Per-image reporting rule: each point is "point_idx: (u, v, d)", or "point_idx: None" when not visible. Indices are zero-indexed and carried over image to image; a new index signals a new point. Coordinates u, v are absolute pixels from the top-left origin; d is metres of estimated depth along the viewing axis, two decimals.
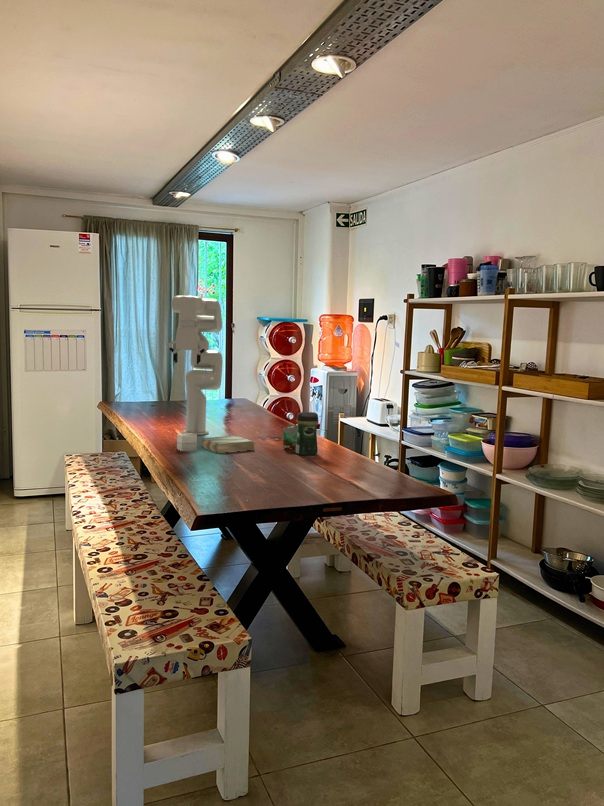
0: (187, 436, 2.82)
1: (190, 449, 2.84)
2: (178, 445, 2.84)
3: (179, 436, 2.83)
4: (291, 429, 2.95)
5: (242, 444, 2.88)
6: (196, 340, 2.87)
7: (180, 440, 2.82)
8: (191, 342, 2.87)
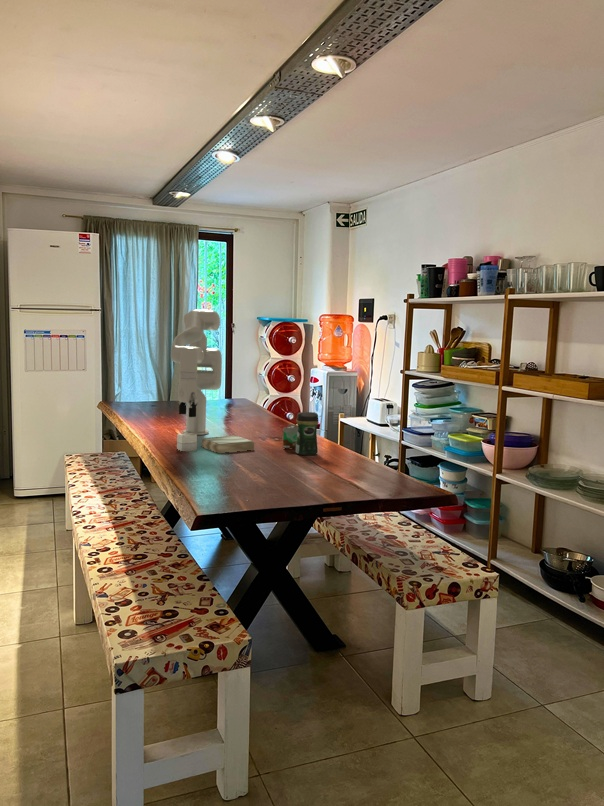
0: (187, 436, 2.82)
1: (190, 449, 2.84)
2: (178, 445, 2.84)
3: (179, 436, 2.83)
4: (291, 429, 2.95)
5: (242, 444, 2.88)
6: None
7: (180, 440, 2.82)
8: None
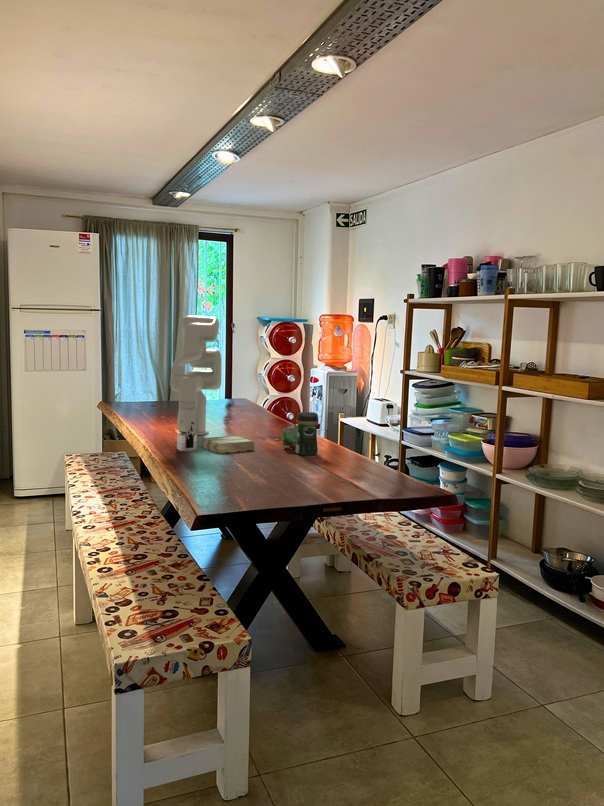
0: None
1: (190, 449, 2.84)
2: (178, 445, 2.84)
3: (179, 436, 2.83)
4: (291, 429, 2.95)
5: (242, 444, 2.88)
6: None
7: (180, 440, 2.82)
8: None
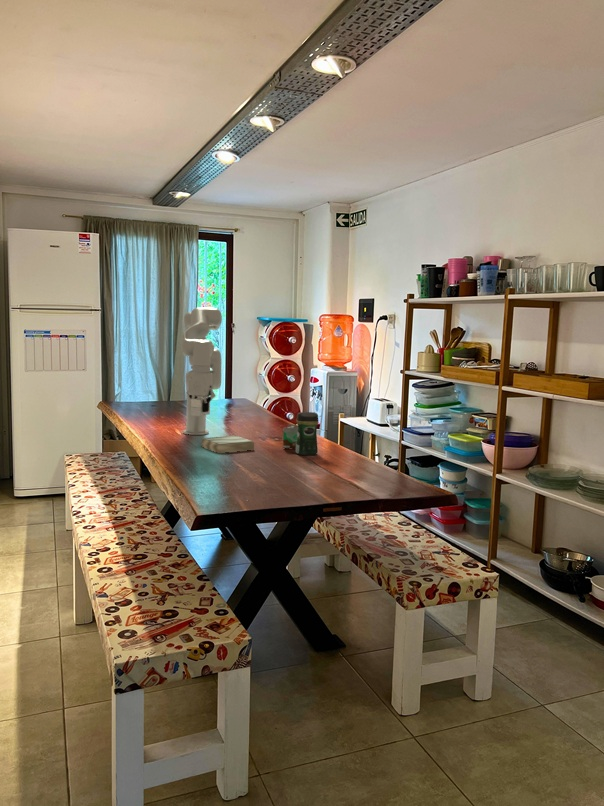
0: (203, 400, 2.83)
1: (205, 413, 2.85)
2: (193, 410, 2.83)
3: (195, 401, 2.82)
4: (291, 429, 2.95)
5: (242, 444, 2.88)
6: None
7: (197, 404, 2.82)
8: None
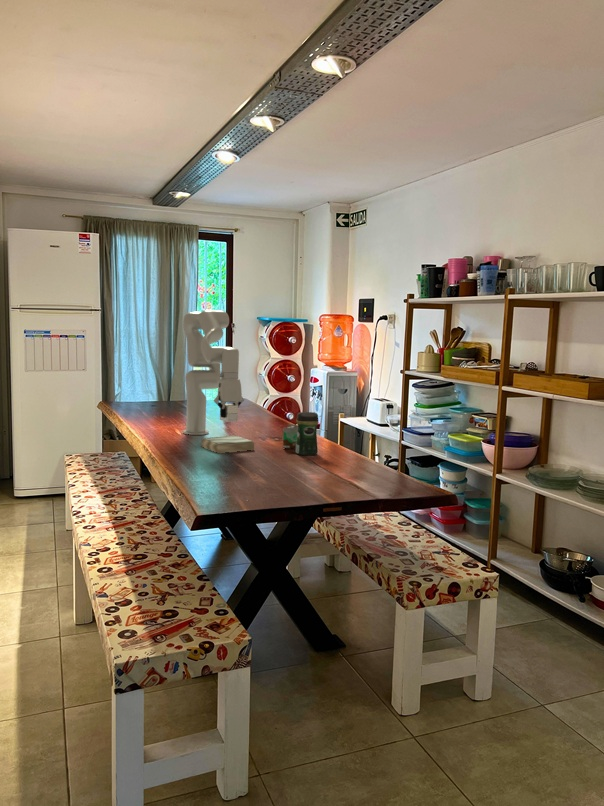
0: None
1: None
2: (230, 416, 2.87)
3: (232, 407, 2.87)
4: (291, 429, 2.95)
5: (242, 444, 2.88)
6: None
7: (234, 410, 2.88)
8: None
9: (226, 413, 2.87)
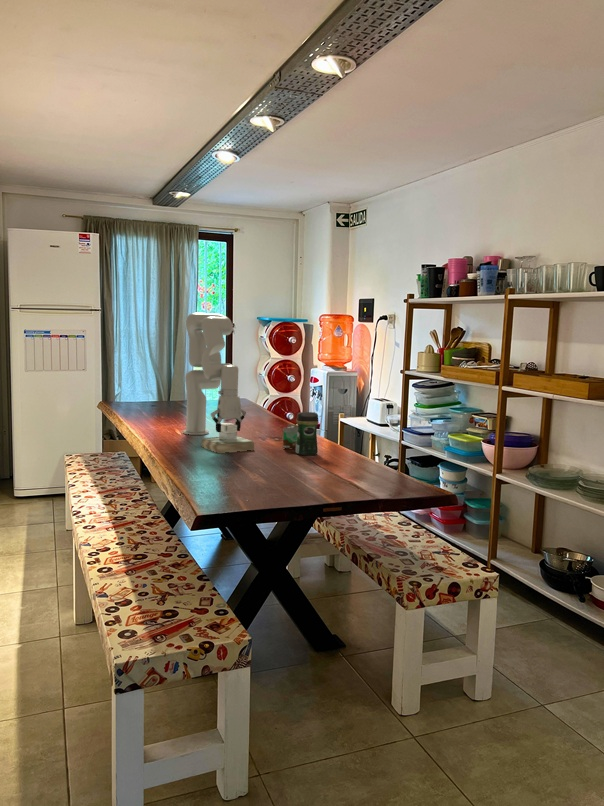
0: None
1: None
2: (229, 436, 2.89)
3: (231, 426, 2.89)
4: (291, 429, 2.95)
5: (242, 444, 2.88)
6: None
7: (233, 430, 2.89)
8: None
9: (225, 433, 2.89)
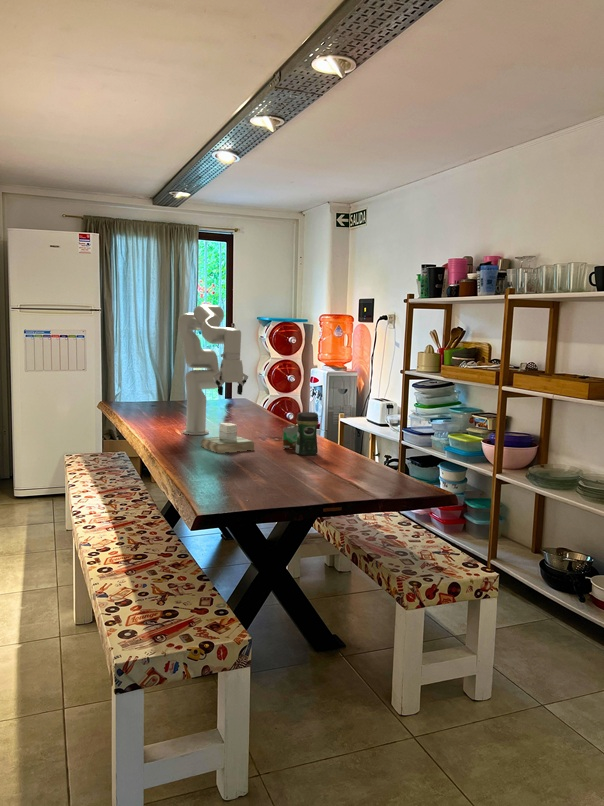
0: None
1: None
2: (229, 436, 2.89)
3: (231, 426, 2.89)
4: (291, 429, 2.95)
5: (242, 444, 2.88)
6: None
7: (233, 430, 2.89)
8: None
9: (225, 433, 2.89)
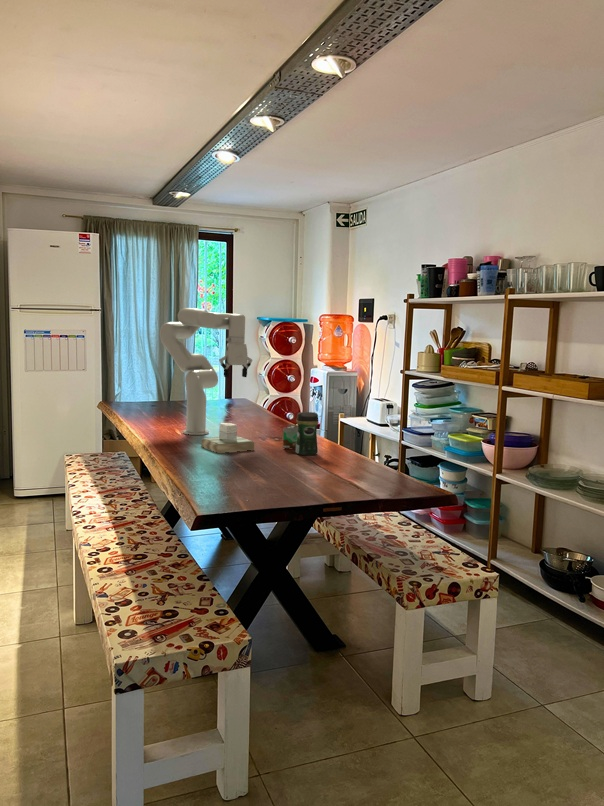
0: None
1: None
2: (229, 436, 2.89)
3: (231, 426, 2.89)
4: (291, 429, 2.95)
5: (242, 444, 2.88)
6: None
7: (233, 430, 2.89)
8: None
9: (225, 433, 2.89)
